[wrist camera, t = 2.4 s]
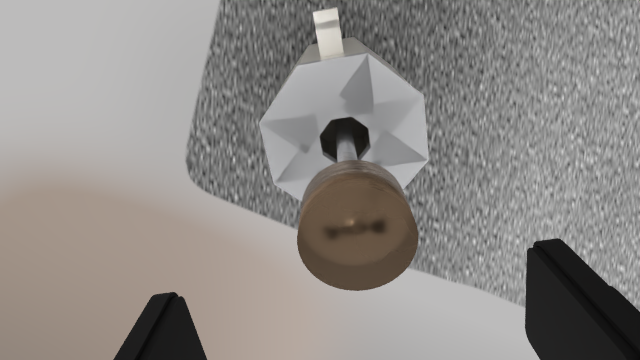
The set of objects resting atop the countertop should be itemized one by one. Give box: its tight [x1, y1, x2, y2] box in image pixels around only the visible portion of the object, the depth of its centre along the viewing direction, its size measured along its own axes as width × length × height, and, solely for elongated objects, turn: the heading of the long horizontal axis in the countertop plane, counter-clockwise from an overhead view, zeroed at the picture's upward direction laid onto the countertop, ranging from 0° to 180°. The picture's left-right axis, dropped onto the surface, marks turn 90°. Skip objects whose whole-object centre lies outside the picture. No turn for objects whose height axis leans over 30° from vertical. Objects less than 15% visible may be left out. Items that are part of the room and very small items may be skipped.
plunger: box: [297, 117, 418, 291], centre depth 21 cm, size 4×4×17 cm
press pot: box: [259, 7, 429, 201], centre depth 29 cm, size 12×9×13 cm
